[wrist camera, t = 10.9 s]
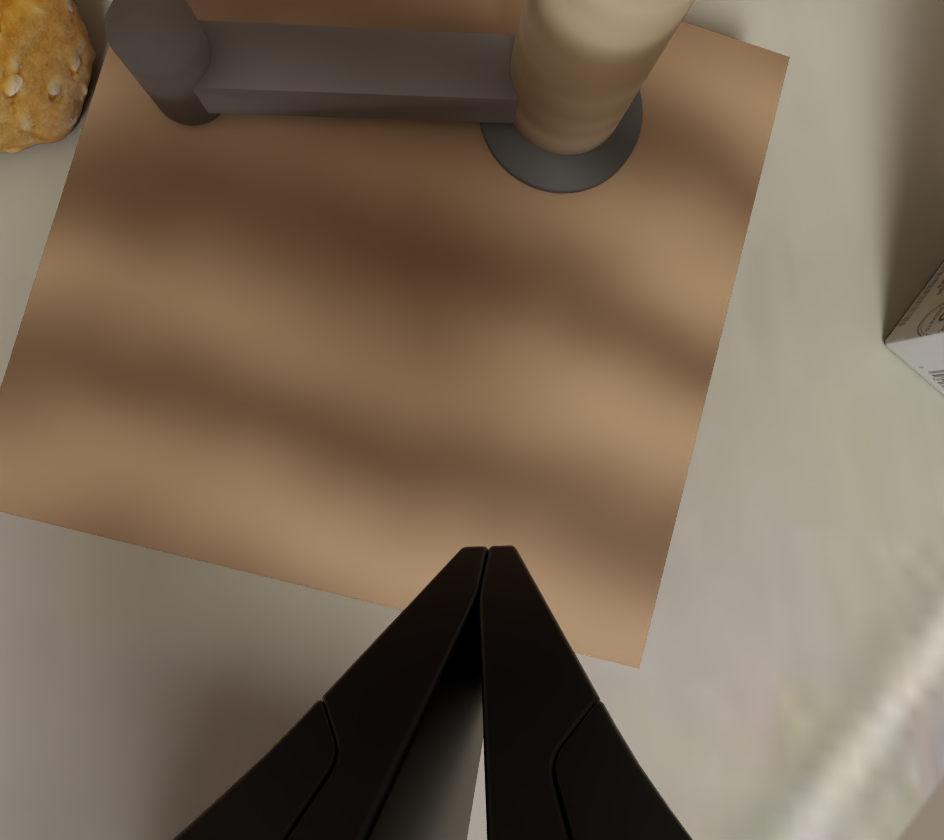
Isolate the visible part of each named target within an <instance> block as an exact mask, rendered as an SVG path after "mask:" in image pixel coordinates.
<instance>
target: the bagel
mask: <svg viewBox="0 0 944 840" xmlns="http://www.w3.org/2000/svg"><path fill="white" fill-rule="evenodd" d="M95 58H96V55H95V51H94V49H93V46H92V44H91V41H90V37H89V34H88V33H87V29H86V26H85V24H84V23H83V21H82V19H81V17H80V15H79V12H78V9H77V7H76V4H75V3H74V1H73V0H0V152H4V151H5V152H8V153H16V152H19V151H21V150H24V149H26V148H29V147H31V146H33V145H36V144H41V143H52V142H56V141H60V140H62V139H63V138H64V137H66V136H67V135H68V134H69V133H70V132H71V131H72V129H73V127H74V126H75V124H76V123H77V121H78V119H79V117H80V114H81V111H82V107H83V103H84V100H85V98H86V95H87V92H88V84H89V82H90V79H91V73H92V63H93V61H94V60H95Z"/></svg>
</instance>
